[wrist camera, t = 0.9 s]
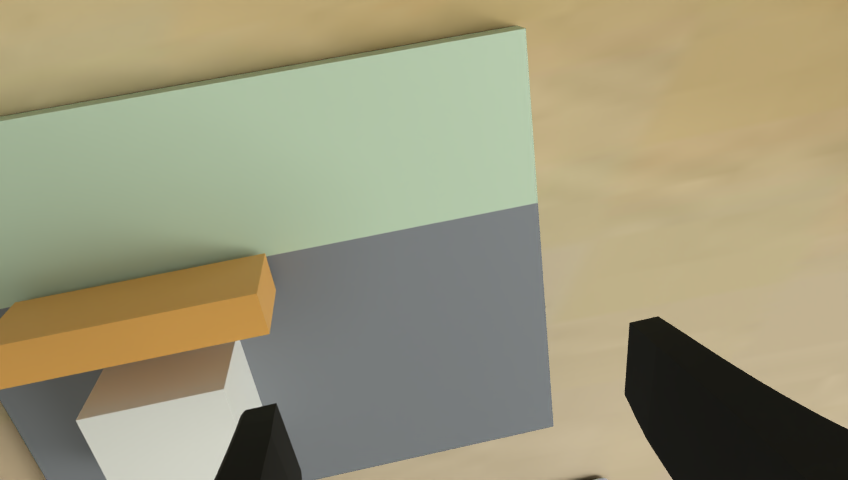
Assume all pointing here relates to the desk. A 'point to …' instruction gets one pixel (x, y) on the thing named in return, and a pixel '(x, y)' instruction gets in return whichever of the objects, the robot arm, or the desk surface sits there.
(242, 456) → the robot arm
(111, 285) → the bar
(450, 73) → the green and grey board
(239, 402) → the plug block
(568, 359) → the desk surface
